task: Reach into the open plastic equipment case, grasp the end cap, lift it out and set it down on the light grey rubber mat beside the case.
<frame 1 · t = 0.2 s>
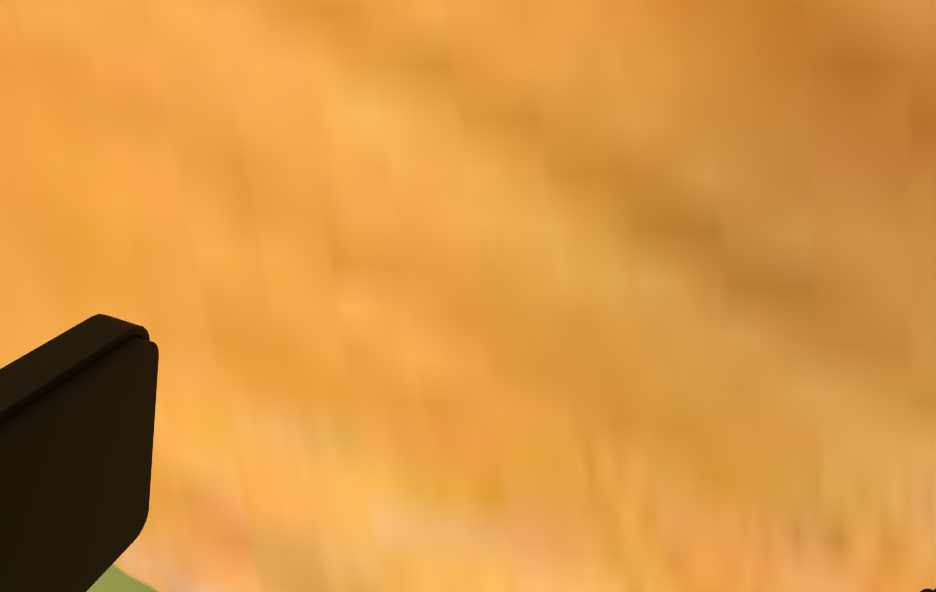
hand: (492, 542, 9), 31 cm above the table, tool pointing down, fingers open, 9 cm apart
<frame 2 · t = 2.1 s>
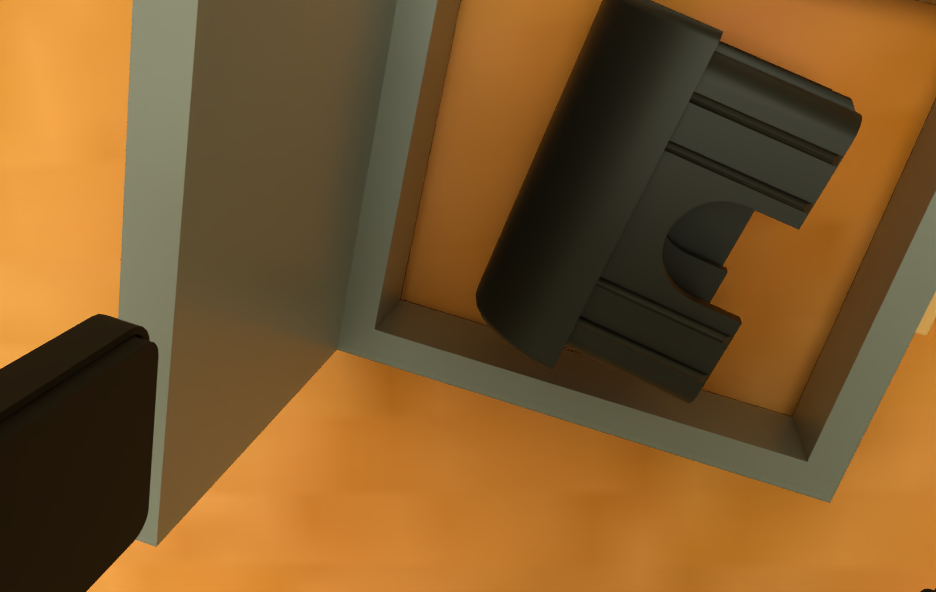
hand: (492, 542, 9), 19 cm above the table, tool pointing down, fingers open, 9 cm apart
end cap: (647, 174, 26), resting in equipment case
equipment case: (647, 176, 26), on the table
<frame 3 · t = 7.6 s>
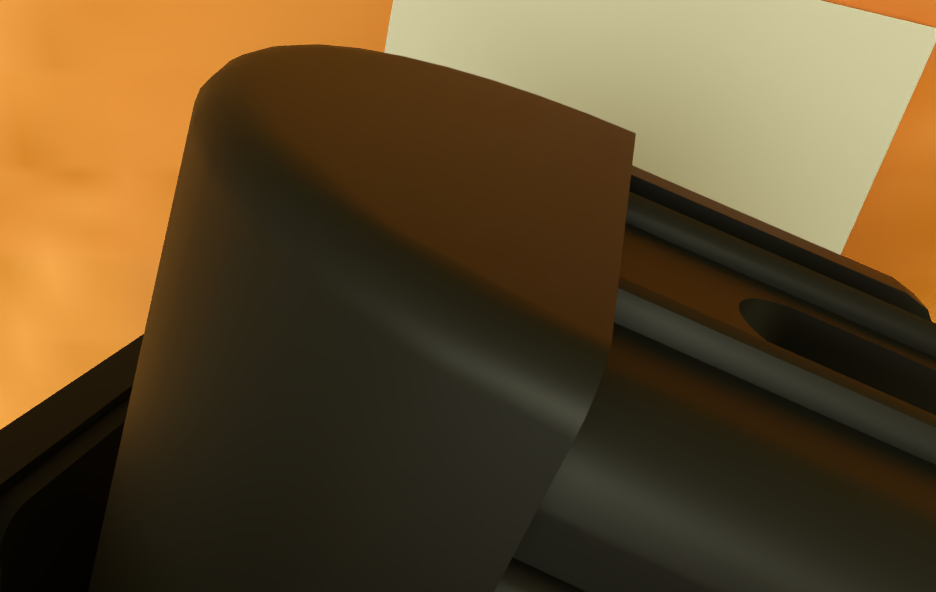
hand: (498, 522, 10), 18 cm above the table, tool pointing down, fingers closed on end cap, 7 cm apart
end cap: (517, 451, 11), point 17 cm above the table, touching gripper
grey mat: (607, 154, 26), on the table
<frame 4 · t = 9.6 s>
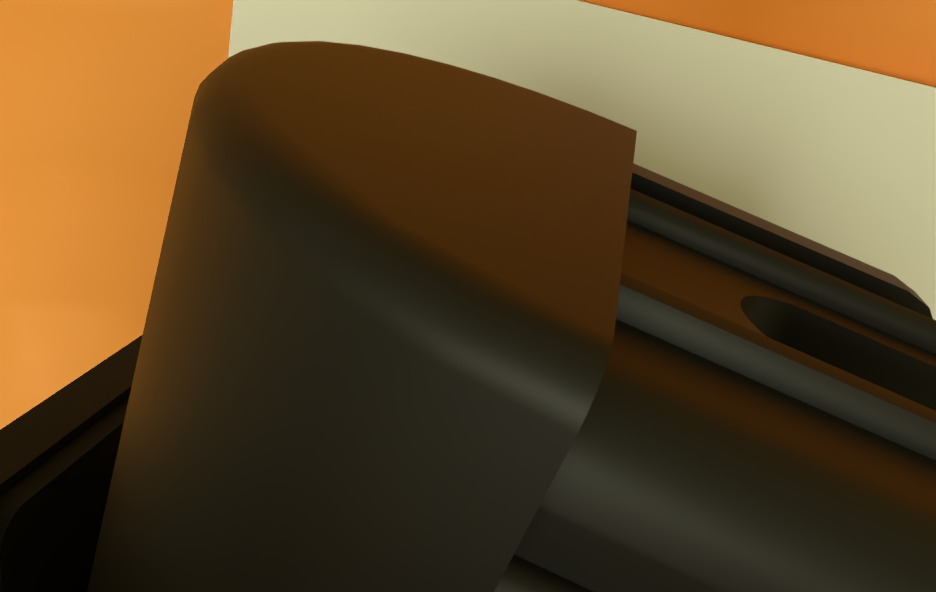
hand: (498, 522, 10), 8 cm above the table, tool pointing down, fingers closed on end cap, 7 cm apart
end cap: (518, 450, 11), point 6 cm above the table, touching gripper
grey mat: (563, 302, 17), on the table
when the fingers open (3 cm above the table, at t = 11.1 s): end cap drops 1 cm, resting on grey mat.
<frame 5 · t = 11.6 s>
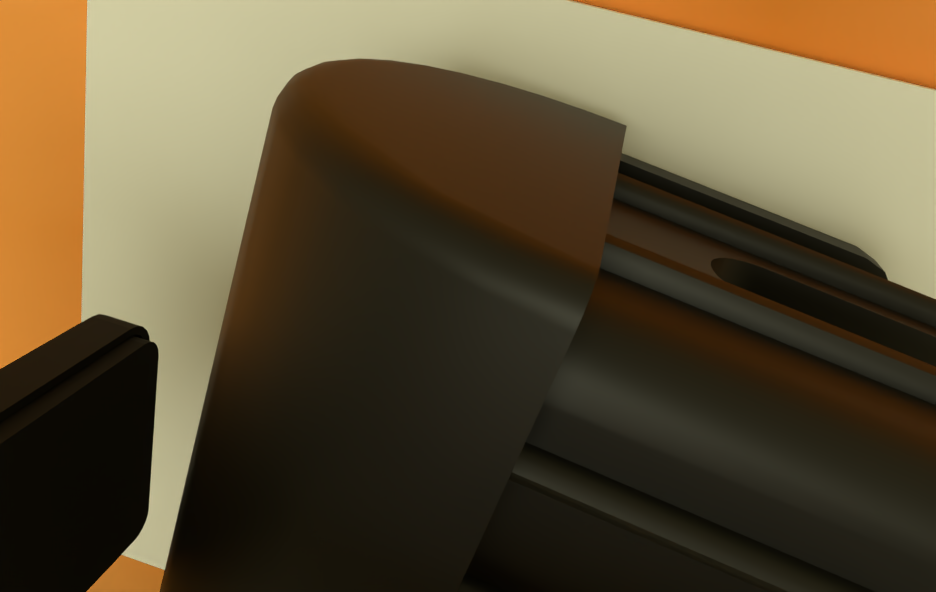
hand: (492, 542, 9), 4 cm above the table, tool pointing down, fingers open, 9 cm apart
end cap: (531, 415, 13), resting on grey mat
grey mat: (536, 391, 13), on the table
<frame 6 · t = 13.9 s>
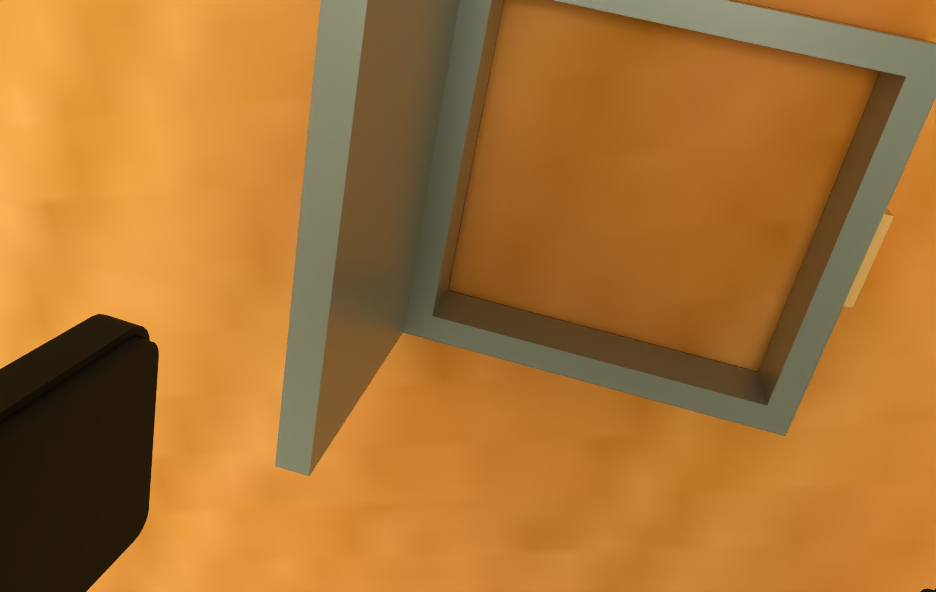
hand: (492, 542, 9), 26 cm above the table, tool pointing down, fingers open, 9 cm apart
equipment case: (640, 190, 34), on the table
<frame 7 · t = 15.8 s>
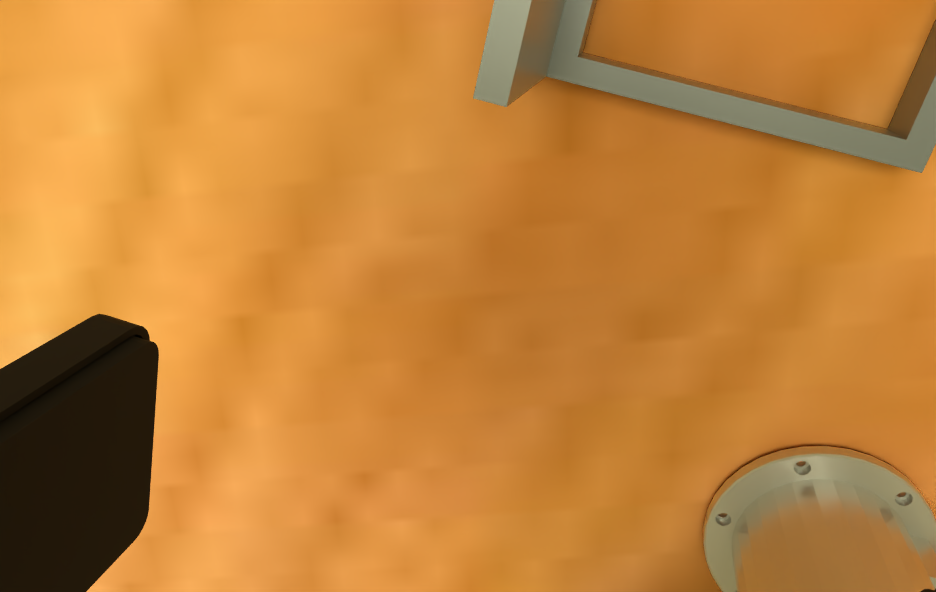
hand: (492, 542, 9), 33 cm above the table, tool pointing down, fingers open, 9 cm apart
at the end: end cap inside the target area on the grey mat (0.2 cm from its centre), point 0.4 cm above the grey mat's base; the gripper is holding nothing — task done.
